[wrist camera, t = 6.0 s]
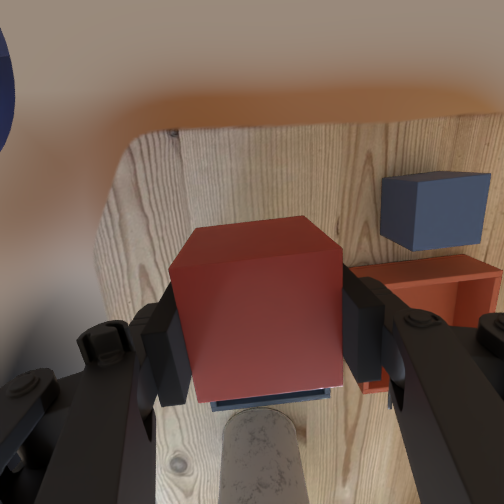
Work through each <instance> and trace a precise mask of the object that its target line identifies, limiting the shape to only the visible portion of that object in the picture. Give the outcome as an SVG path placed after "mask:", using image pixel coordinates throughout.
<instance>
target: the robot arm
mask: <svg viewBox="0 0 504 504" xmlns="http://www.w3.org/2000/svg"><path fill="white" fill-rule="evenodd" d="M342 338H343V357H344V359H345V360H346V362H347V364H348V366H349V368H350V370H351V372H352V374H353V376H354V378H355V380H356V381H357V383H364V382H372V381H381V375H382V366H383V367H384V369H385V370H386V372H387V373H388V375H389V391H388V409H392V403H393V406H394V409H395V413H396V416H397V420H398V423H399V427H400V431H401V434H402V438H403V441H404V445H405V448H406V452H407V456H408V459H409V463H410V466H411V470H412V473H413V477H414V480H415V484H416V488H417V491H418V495H419V498H420V502H421V504H504V313H487V314H483V315H482V316H481V317H480V318H479V320H478V326H477V328H473V327H459V326H449V325H448V324H447V323H446V321H445V320H444V319H442V318H441V317H440V316H438V315H436V314H434V313H432V312H430V311H426V310H422V309H415V308H410V307H409V306H408V305H407V304H406V303H405V302H403V301H402V300H401V299H400V298H399V297H398V296H396V295H395V294H393V292H392V291H391V290H390V289H387V287H386V286H385V285H384V284H383V283H382V282H380V281H379V280H376V279H374V278H372V277H369V276H367V277H359V278H358V277H357V276H356V275H355V274H354V273H353V272H352V271H351V270H350V269H349V268H348V267H347V266H346V265H345V264H344V263H343V287H342ZM77 344H78V346H79V349H80V352H81V354H82V357H83V359H84V362H85V365H86V366H85V368H84V371H82V372H79V373H76V374H73V375H70V376H67V377H64V378H61V379H58V380H57V379H56V376H55V374H54V372H53V370H50V369H49V368H40V369H36V370H32V371H28V372H25V373H24V374H21V375H18V376H17V377H16V378H14V379H13V380H11V381H9V382H8V383H6V384H5V385H4V386H3V387H1V388H0V504H155V485H156V416H155V412H154V409H153V405H154V402H155V399H156V396H157V394H158V397H159V401H160V404H161V407H166V406H174V405H183V404H185V403H186V398H187V394H188V389H189V385H190V381H191V376H192V371H191V366H190V362H189V357H188V353H187V349H186V344H185V340H184V335H183V331H182V327H181V322H180V318H179V314H178V309H177V306H176V302H175V297H174V293H173V288H172V284H171V282H170V283H169V285H168V287H167V289H166V290H165V292H164V294H163V296H162V297H161V299H160V301H159V303H150V304H147V305H146V306H144V307H143V308H142V309H140V310H139V311H138V312H137V314H136V315H135V317H134V318H133V320H132V321H131V323H130V324H129V326H128V323H127V322H125V321H123V320H113V321H107V322H104V323H101V324H98V325H96V326H94V327H92V328H90V329H88V330H87V331H85V332H84V333H82V334H81V335H80V336H79V338H78V339H77ZM16 451H17V453H18V454H19V456H20V458H21V461H20V463H19V464H18V465H17V467H16V468H15V469H14V470H13V471H10V470H9V468H8V466H7V464H8V462H9V461H10V460H11V458H12V457H13V456H14V454H15V453H16Z"/></svg>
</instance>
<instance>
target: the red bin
mask: <svg viewBox="0 0 504 504" xmlns="http://www.w3.org/2000/svg"><path fill="white" fill-rule="evenodd" d="M349 269H350V270H351V271H352V272H353V273H354V274H355V275H356V276H357V277H358V278H359V277H367V276H369V277H372V278H374V279H376V280H379V281H380V282H382V283H383V284H384V285H385V286H386V287H387V289H390V290H391V291H392V292H393V294H395V295H396V296H398V297H399V298H400V299H401V300H402V301H403V302H405V303H406V304H407V305H408V306H409V307H410V308H415V309H422V310H426V311H430V312H432V313H434V314H436V315H438V316H440V317H441V318H442V319H444V320H445V321H446V323H447V324H448V325H449V326H459V327H473V328H477V326H478V320H479V318H480V317H481V316H482V315H483V314H487V313H495V310H496V305H497V300H498V295H499V289H500V284H501V279H502V277H501V276H502V274H503V270H501V269H498V268H496V267H494V266H491V265H489V264H486V263H484V262H482V261H479V260H477V259H474V258H472V257H470V256H467V255H465V254H460V255H452V256H443V257H435V258H427V259H418V260H410V261H401V262H393V263H384V264H376V265H367V266H359V267H351V268H349ZM347 365H348V364H347ZM356 382H357V381H356ZM357 384H358V386H359V388H360V389H361V391H362V393H363V394H370V393H378V392H387V391H389V375H388V373H387V372H386V370H385V369H384V367H383V366H382V375H381V381H372V382H364V383H357Z"/></svg>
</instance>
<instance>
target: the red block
mask: <svg viewBox="0 0 504 504" xmlns="http://www.w3.org/2000/svg"><path fill="white" fill-rule="evenodd" d="M168 270H169V275H170V279H171V284H172V288H173V293H174V297H175V302H176V306H177V309H178V314H179V318H180V322H181V327H182V331H183V335H184V340H185V344H186V349H187V353H188V357H189V362H190V366H191V371H192V377H193V382H194V386H195V391H196V395H197V400H198V403H205V402H214V401H222V400H230V399H239V398H247V397H256V396H264V395H272V394H281V393H289V392H297V391H306V390H314V389H323V388H331V387H339V386H343V338H342V287H343V249H342V248H341V247H340V246H339V245H338V244H337V243H335V242H334V241H333V240H332V239H331V238H330V237H328V236H327V235H326V234H325V233H324V232H322V231H321V230H320V229H319V228H318V227H317V226H315V225H314V224H313V223H312V222H311V221H309V220H308V219H307V218H306V217H305V216H295V217H286V218H277V219H269V220H260V221H252V222H243V223H234V224H226V225H217V226H209V227H200V228H195V230H194V231H193V233H192V234H191V236H190V237H189V239H188V240H187V242H186V243H185V245H184V246H183V248H182V249H181V251H180V252H179V254H178V255H177V257H176V258H175V260H174V261H173V263H172V264H171V266H170V267H169V269H168Z"/></svg>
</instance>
